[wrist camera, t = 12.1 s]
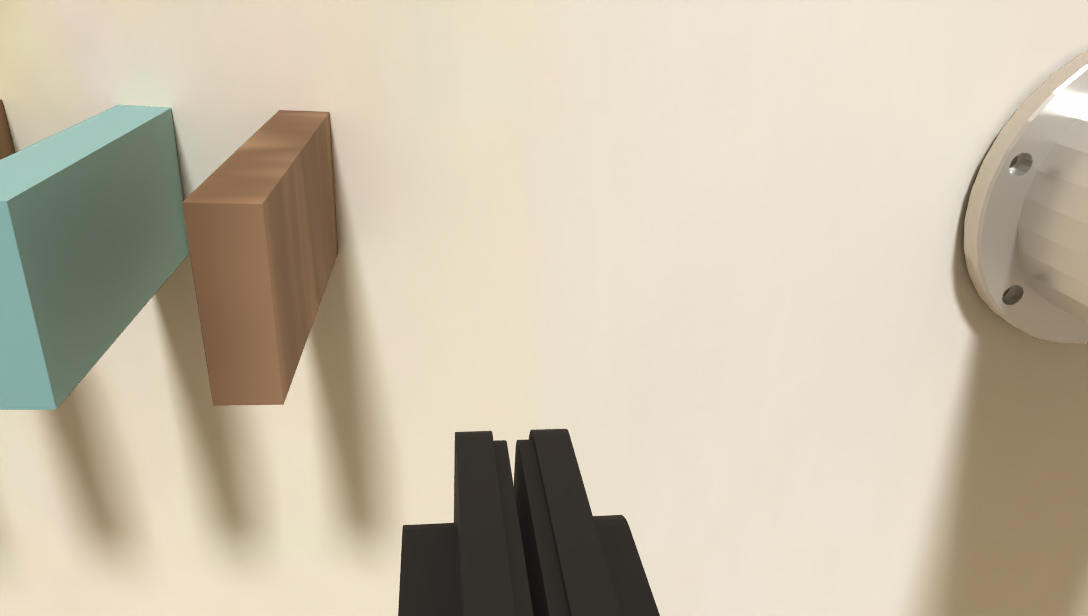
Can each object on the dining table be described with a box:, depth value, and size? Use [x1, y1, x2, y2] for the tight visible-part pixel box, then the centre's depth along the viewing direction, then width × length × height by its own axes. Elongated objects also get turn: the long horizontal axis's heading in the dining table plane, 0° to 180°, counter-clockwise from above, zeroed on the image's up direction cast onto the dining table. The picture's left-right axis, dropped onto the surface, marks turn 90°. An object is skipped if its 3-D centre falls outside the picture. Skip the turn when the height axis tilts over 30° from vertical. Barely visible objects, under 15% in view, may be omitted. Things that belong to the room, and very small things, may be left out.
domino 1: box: [0, 105, 190, 410], centre depth 20 cm, size 2×5×10 cm, turn 176°
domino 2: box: [182, 110, 338, 405], centre depth 21 cm, size 2×5×10 cm, turn 177°
